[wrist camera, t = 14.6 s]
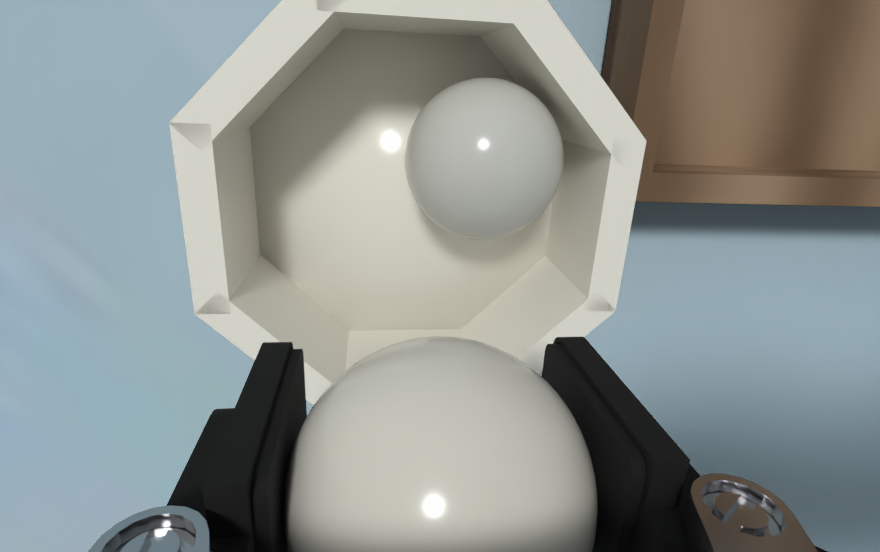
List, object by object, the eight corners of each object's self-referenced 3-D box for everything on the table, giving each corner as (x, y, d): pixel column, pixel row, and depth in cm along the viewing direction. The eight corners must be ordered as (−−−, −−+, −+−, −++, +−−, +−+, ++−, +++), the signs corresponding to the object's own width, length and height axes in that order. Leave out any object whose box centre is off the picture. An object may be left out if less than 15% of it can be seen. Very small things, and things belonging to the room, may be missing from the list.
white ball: (463, 66, 18) (600, 84, 16) (451, 200, 20) (570, 232, 18) (372, 71, 14) (536, 95, 12) (371, 235, 17) (508, 282, 14)
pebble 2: (553, 290, 10) (704, 460, 6) (527, 488, 12) (626, 743, 7) (297, 291, 10) (229, 486, 5) (309, 501, 11) (266, 791, 7)
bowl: (597, 14, 18) (674, -9, 13) (551, 342, 23) (597, 409, 18) (210, -13, 16) (146, -50, 12) (245, 347, 21) (209, 422, 16)
